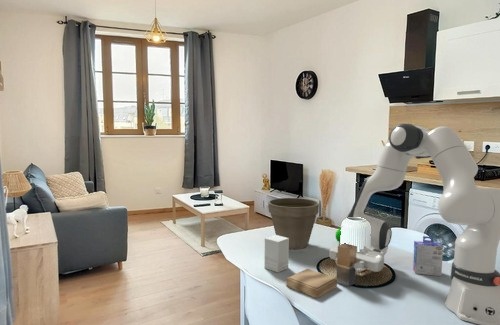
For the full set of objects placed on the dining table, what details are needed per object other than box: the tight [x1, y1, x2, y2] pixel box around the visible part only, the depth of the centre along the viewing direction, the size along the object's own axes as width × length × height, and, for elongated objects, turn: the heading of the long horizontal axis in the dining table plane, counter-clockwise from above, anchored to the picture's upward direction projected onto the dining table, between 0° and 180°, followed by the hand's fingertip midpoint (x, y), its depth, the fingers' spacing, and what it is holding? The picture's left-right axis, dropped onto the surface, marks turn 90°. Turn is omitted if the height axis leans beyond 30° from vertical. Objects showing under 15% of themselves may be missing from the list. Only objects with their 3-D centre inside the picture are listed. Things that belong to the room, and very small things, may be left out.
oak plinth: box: [285, 268, 338, 299], centre depth 126 cm, size 13×13×3 cm
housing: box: [335, 243, 357, 288], centre depth 130 cm, size 5×5×14 cm
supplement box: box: [263, 234, 290, 273], centre depth 143 cm, size 7×7×13 cm
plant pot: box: [267, 197, 320, 250], centre depth 173 cm, size 25×25×22 cm
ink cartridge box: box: [412, 235, 444, 277], centre depth 141 cm, size 10×6×14 cm, turn 78°
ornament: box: [335, 227, 342, 244], centre depth 176 cm, size 8×8×10 cm
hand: (345, 263), depth 129 cm, fingers closed on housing, 5 cm apart
